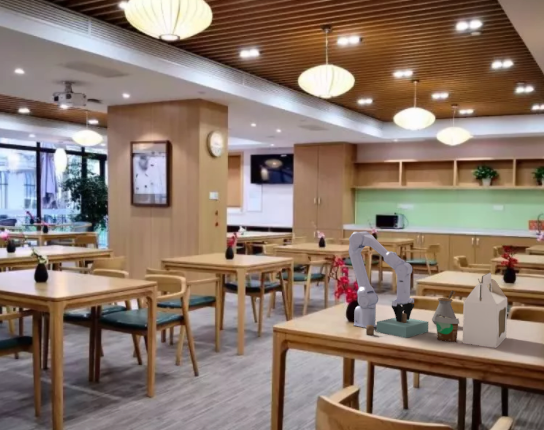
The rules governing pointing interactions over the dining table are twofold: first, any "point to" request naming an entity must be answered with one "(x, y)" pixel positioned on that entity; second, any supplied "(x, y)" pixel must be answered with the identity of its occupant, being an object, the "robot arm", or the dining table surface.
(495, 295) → the gable box
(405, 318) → the tall pin
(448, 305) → the coffee pot
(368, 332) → the short pin
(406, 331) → the hole plate
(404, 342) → the dining table surface
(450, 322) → the food container
